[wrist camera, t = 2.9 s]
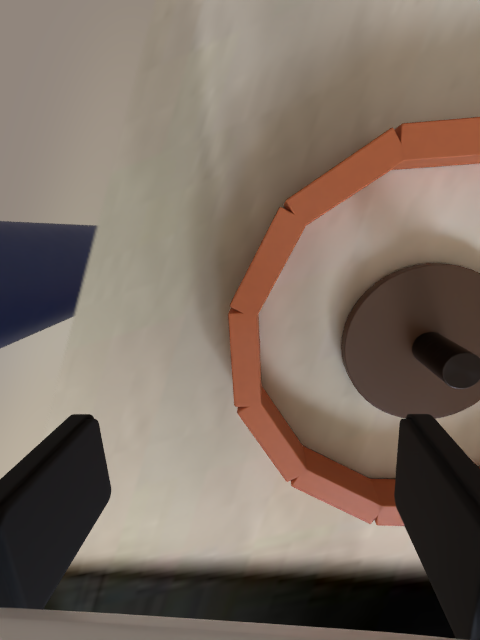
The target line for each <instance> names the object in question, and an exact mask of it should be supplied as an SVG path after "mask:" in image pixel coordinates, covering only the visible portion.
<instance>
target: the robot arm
mask: <svg viewBox="0 0 480 640" xmlns="http://www.w3.org/2000/svg"><path fill="white" fill-rule="evenodd" d="M110 495H111V485H110V480H109V475H108V469H107V464H106V459H105V454H104V448H103V443H102V438H101V433H100V427H99V423H98V421H97V420H96V419H94V417H93V416H92V415H90V414H74V415H71V416H69V417H68V418H67V419H66V420H65V421H64V422H63V423H62V424H61V425H60V426H58V427H57V428H56V429H55V430H54V431H53V432H52V433H51V434H50V435H49V436H47V437H46V438H45V439H44V440H43V441H42V442H41V443H40V444H39V445H38V446H36V447H35V448H34V449H33V450H32V451H31V452H30V453H29V454H28V455H27V456H26V457H24V458H23V459H22V460H21V461H20V462H19V463H18V464H17V465H16V466H15V467H14V468H12V469H11V470H10V471H9V472H8V473H7V474H6V475H5V476H4V477H3V478H1V479H0V640H480V468H479V467H478V466H477V465H476V464H474V463H473V462H472V460H471V459H470V458H469V457H468V456H467V455H466V454H465V453H464V451H463V450H462V449H461V448H460V447H459V446H458V445H457V444H456V442H455V441H454V440H453V439H452V438H451V437H450V436H449V434H448V433H447V432H446V431H445V430H444V429H443V428H442V427H441V425H440V424H439V423H438V422H437V421H436V420H435V419H434V418H433V416H432V415H430V414H408V415H407V416H406V419H401V421H400V427H399V440H398V453H397V465H396V478H395V491H394V499H395V504H396V508H397V510H398V512H399V515H400V517H401V519H402V521H403V523H404V526H405V528H406V530H407V532H408V534H409V536H410V539H411V541H412V543H413V545H414V547H415V550H416V552H417V554H418V556H419V558H420V561H421V563H422V565H423V567H424V569H425V571H426V574H427V576H428V578H429V580H430V582H431V585H432V587H433V589H434V591H435V593H436V595H437V598H438V600H439V602H440V604H441V606H442V609H443V611H444V613H445V615H446V617H447V619H448V622H449V624H450V626H451V628H452V630H453V633H454V635H455V637H456V639H453V638H443V637H432V636H421V635H410V634H399V633H388V632H374V631H361V630H347V629H333V628H319V627H305V626H291V625H277V624H263V623H248V622H233V621H218V620H203V619H188V618H172V617H157V616H141V615H126V614H109V613H92V612H74V611H57V610H43V608H44V607H45V605H46V604H47V602H48V600H49V599H50V597H51V595H52V594H53V592H54V590H55V589H56V587H57V585H58V584H59V582H60V580H61V579H62V577H63V575H64V574H65V572H66V570H67V569H68V567H69V566H70V564H71V562H72V561H73V559H74V557H75V556H76V554H77V552H78V551H79V549H80V547H81V546H82V544H83V542H84V541H85V539H86V537H87V536H88V534H89V533H90V531H91V529H92V528H93V526H94V524H95V523H96V521H97V519H98V518H99V516H100V514H101V513H102V511H103V509H104V508H105V506H106V504H107V503H108V501H109V499H110Z"/></svg>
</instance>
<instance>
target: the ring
mask: <svg viewBox="0 0 480 640" xmlns="http://www.w3.org/2000/svg"><path fill="white" fill-rule="evenodd" d="M477 163H480V117H473V118H461V119H450V120H438V121H426V122H415V123H403V124H401V125H400V126H399V127H397V128H396V129H395V130H394V128H390V129H389V130H388V131H386V132H385V133H383V134H382V135H380V136H379V137H377V138H376V139H374V140H373V141H371V142H370V143H368V144H367V145H366V146H364V147H363V148H361V149H360V150H358V151H357V152H355V153H354V154H352V155H351V156H349V157H348V158H347V159H345V160H344V161H342V162H341V163H339V164H338V165H336V166H335V167H333V168H332V169H330V170H329V171H328V172H326V173H325V174H323V175H322V176H320V177H319V178H317V179H316V180H314V181H313V182H311V183H310V184H309V185H307V186H306V187H304V188H303V189H301V190H300V191H298V192H297V193H295V194H294V195H292V196H291V197H290V198H288V199H287V200H286V201H285V203H284V204H283V205H284V207H285V209H284V208H282V207H279V209H278V211H277V213H276V215H275V217H274V219H273V221H272V223H271V225H270V227H269V229H268V231H267V233H266V235H265V237H264V238H263V240H262V242H261V244H260V246H259V248H258V250H257V252H256V254H255V256H254V258H253V260H252V262H251V264H250V266H249V268H248V270H247V272H246V274H245V276H244V278H243V280H242V282H241V284H240V286H239V288H238V290H237V292H236V294H235V296H234V298H233V300H232V302H231V304H230V307H231V309H230V311H229V313H228V320H229V334H230V349H231V363H232V378H233V392H234V405H235V406H236V407H238V410H237V413H238V415H239V416H240V417H241V419H242V420H243V422H244V423H245V424H246V426H247V427H248V429H249V430H250V431H251V433H252V434H253V436H254V437H255V438H256V440H257V441H258V443H259V444H260V445H261V447H262V448H263V449H264V451H265V452H266V454H267V455H268V456H269V458H270V459H271V461H272V462H273V463H274V465H275V466H276V468H277V469H278V470H279V472H280V473H281V475H282V476H283V477H284V479H285V480H286V481H287V482H288V481H290V480H291V486H292V487H294V488H296V489H298V490H300V491H303V492H305V493H307V494H309V495H311V496H313V497H315V498H317V499H319V500H321V501H323V502H325V503H328V504H330V505H332V506H334V507H336V508H338V509H340V510H342V511H344V512H346V513H348V514H350V515H353V516H355V517H357V518H359V519H361V520H363V521H365V522H367V523H369V524H371V523H372V522H373V520H375V522H376V524H377V525H386V526H404V523H403V521H402V519H401V517H400V515H399V512H398V510H397V508H396V504H395V499H394V491H395V479H370V478H368V477H365V476H363V475H361V474H359V473H357V472H355V471H353V470H351V469H349V468H347V467H345V466H343V465H341V464H339V463H337V462H335V461H333V460H331V459H329V458H327V457H325V456H323V455H320V454H318V453H316V452H314V451H312V450H310V449H308V448H306V447H304V446H302V444H301V443H300V441H299V440H298V438H297V437H296V435H295V434H294V432H293V431H292V430H291V428H290V427H289V425H288V424H287V422H286V421H285V419H284V418H283V416H282V415H281V414H280V412H279V411H278V409H277V408H276V406H275V405H274V403H273V402H272V400H271V399H270V397H269V396H268V395H267V393H266V392H265V390H264V389H263V387H262V385H261V362H260V339H259V317H258V313H259V312H260V310H261V308H262V306H263V304H264V302H265V301H266V299H267V297H268V295H269V293H270V291H271V289H272V288H273V286H274V284H275V282H276V280H277V278H278V276H279V275H280V273H281V271H282V269H283V267H284V265H285V263H286V262H287V260H288V258H289V256H290V254H291V252H292V250H293V249H294V247H295V245H296V243H297V241H298V239H299V237H300V236H301V234H302V232H303V230H304V228H305V226H306V225H308V224H309V223H311V222H312V221H314V220H315V219H317V218H318V217H320V216H321V215H323V214H324V213H326V212H328V211H329V210H331V209H332V208H334V207H335V206H337V205H338V204H340V203H341V202H343V201H344V200H346V199H347V198H349V197H350V196H352V195H353V194H355V193H356V192H358V191H360V190H361V189H363V188H364V187H366V186H367V185H369V184H370V183H372V182H373V181H375V180H376V179H378V178H379V177H381V176H382V175H384V174H385V173H387V172H389V171H390V170H396V169H410V168H423V167H437V166H450V165H464V164H477ZM479 468H480V467H479Z"/></svg>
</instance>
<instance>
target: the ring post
mask: <svg viewBox="0 0 480 640" xmlns="http://www.w3.org/2000/svg"><path fill="white" fill-rule="evenodd" d="M342 357H343V362H344V366H345V369H346V372H347V374H348V376H349V378H350V379H351V381H352V383H353V385H354V386H355V388H356V389H357V390H358V392H359V393H360V394H361V395H362V396H363V397H364V398H365V399H366V400H367V401H368V402H369V403H371V404H372V405H373V406H375V407H376V408H378V409H380V410H381V411H384V412H386V413H388V414H391V415H394V416H397V417H401V418H406V416H407V415H408V414H430V415H432V416H433V418H434V419H435V418H441V417H445V416H448V415H452V414H455V413H457V412H460V411H462V410H464V409H466V408H468V407H470V406H472V405H473V404H475V403H476V402H478V401H479V400H480V273H478V272H476V271H474V270H471V269H468V268H465V267H461V266H456V265H450V264H443V263H425V264H417V265H413V266H409V267H405V268H403V269H400V270H397V271H395V272H393V273H391V274H389V275H387V276H385V277H384V278H382V279H381V280H379V281H378V282H376V283H375V284H374V285H373V286H371V287H370V288H369V289H368V290H367V291H366V292H365V293H364V294H363V295H362V296H361V297H360V299H359V300H358V301H357V303H356V304H355V306H354V307H353V309H352V311H351V312H350V314H349V316H348V319H347V321H346V324H345V327H344V331H343V335H342Z"/></svg>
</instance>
